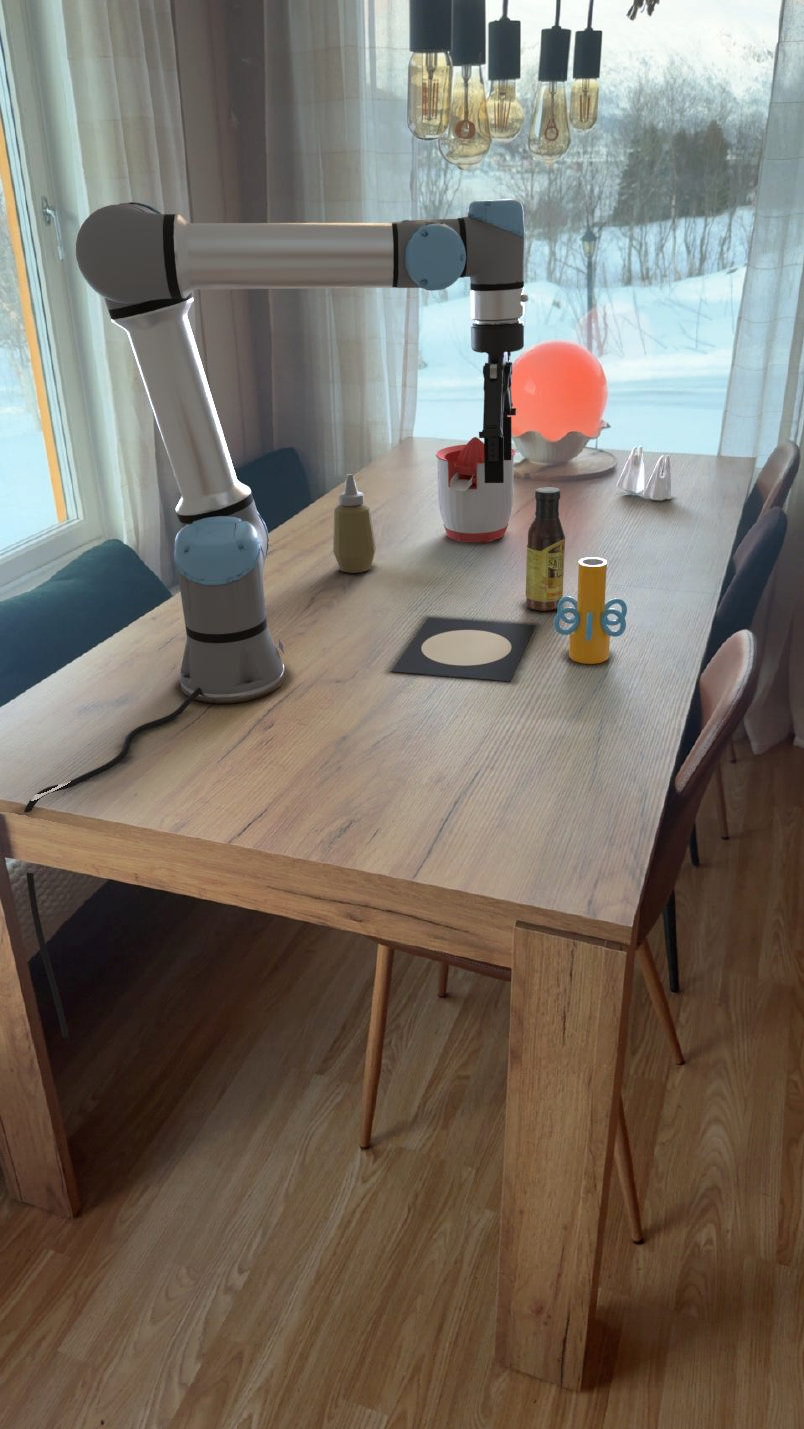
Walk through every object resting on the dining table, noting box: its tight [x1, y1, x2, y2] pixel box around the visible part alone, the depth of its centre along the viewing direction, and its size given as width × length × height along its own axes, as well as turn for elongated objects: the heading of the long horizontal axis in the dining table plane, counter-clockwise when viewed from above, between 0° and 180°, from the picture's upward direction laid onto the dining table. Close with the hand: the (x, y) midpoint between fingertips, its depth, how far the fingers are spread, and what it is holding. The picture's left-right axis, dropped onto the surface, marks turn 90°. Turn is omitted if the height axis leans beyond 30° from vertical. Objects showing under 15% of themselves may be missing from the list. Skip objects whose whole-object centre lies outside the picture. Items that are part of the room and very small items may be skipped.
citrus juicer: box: [435, 436, 516, 544], centre depth 210 cm, size 16×17×20 cm
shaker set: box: [616, 445, 672, 501], centre depth 234 cm, size 12×4×11 cm, turn 50°
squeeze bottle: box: [332, 473, 377, 574], centre depth 196 cm, size 8×8×18 cm
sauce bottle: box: [525, 486, 566, 612], centre depth 175 cm, size 7×6×20 cm
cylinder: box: [553, 556, 628, 665], centre depth 156 cm, size 12×10×15 cm
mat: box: [390, 617, 536, 683], centre depth 164 cm, size 22×18×1 cm
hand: (498, 471), depth 158 cm, fingers open, 13 cm apart
